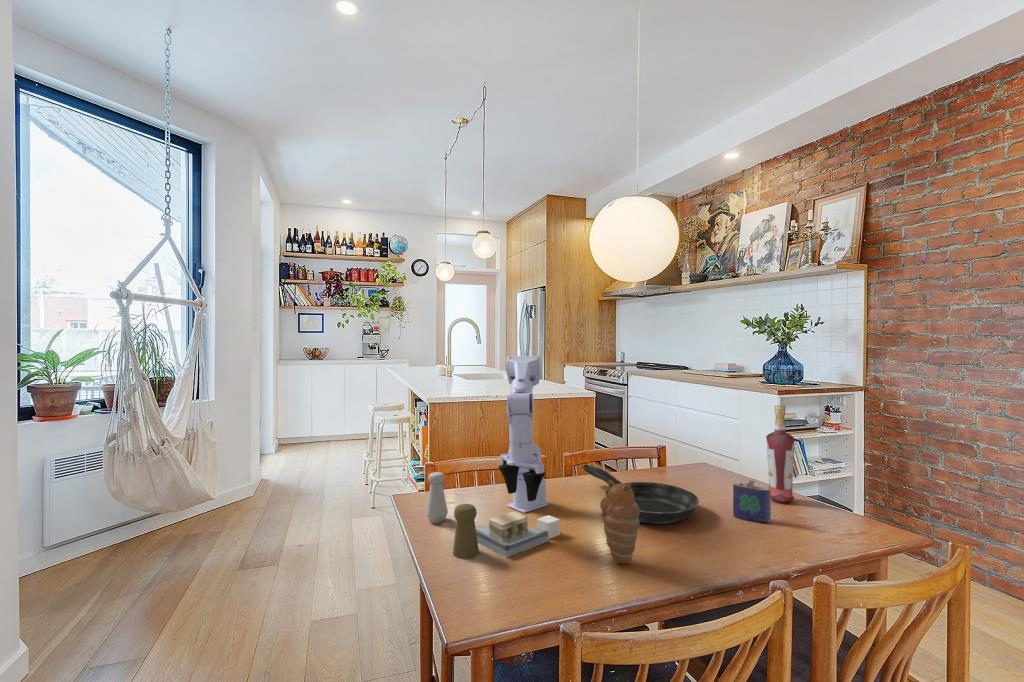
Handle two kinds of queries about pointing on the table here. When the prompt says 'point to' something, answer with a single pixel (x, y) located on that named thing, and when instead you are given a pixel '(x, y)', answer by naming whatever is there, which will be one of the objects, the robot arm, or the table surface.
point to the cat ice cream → (620, 521)
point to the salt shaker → (436, 499)
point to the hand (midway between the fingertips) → (521, 496)
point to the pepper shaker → (465, 532)
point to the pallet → (508, 526)
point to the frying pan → (654, 499)
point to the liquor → (780, 460)
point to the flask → (751, 502)
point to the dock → (512, 541)
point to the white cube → (549, 525)
